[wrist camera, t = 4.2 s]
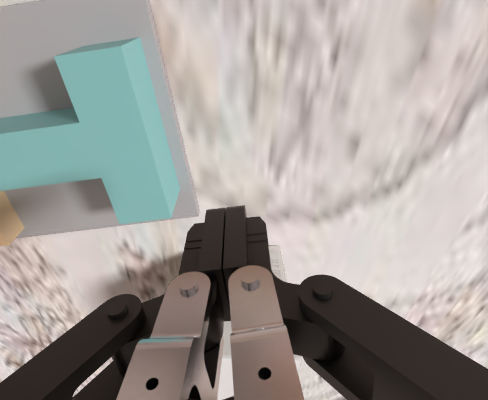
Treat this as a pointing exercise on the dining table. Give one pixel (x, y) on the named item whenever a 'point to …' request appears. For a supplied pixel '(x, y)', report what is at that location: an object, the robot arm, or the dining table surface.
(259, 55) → the dining table surface
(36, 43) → the slot board
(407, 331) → the robot arm
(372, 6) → the dining table surface
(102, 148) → the tee block
